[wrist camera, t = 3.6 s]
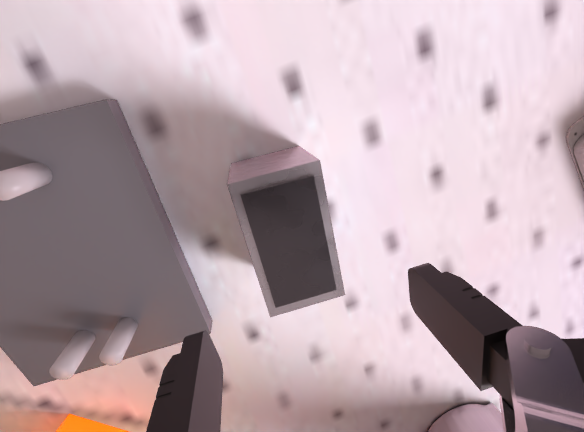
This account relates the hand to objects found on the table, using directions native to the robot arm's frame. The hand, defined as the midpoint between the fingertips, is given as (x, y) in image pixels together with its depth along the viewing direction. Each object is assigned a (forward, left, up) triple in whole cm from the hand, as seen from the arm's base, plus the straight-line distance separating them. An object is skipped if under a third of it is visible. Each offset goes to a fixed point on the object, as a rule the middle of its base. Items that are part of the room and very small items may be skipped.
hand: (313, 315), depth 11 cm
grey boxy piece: (0, 0, -12) cm, 12 cm away
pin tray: (+15, -1, -12) cm, 19 cm away
